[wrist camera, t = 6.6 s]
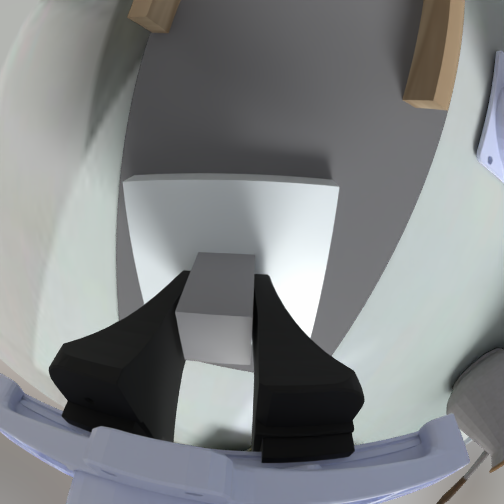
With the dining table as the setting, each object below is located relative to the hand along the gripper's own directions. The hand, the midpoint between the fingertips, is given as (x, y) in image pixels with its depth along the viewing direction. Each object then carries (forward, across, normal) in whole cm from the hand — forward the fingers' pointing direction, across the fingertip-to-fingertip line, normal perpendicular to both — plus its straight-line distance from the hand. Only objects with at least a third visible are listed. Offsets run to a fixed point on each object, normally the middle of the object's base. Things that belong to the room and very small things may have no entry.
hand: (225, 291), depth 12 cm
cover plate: (+2, 0, 0) cm, 2 cm away
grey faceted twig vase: (+2, -26, +18) cm, 32 cm away
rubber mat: (+2, -2, -6) cm, 7 cm away
